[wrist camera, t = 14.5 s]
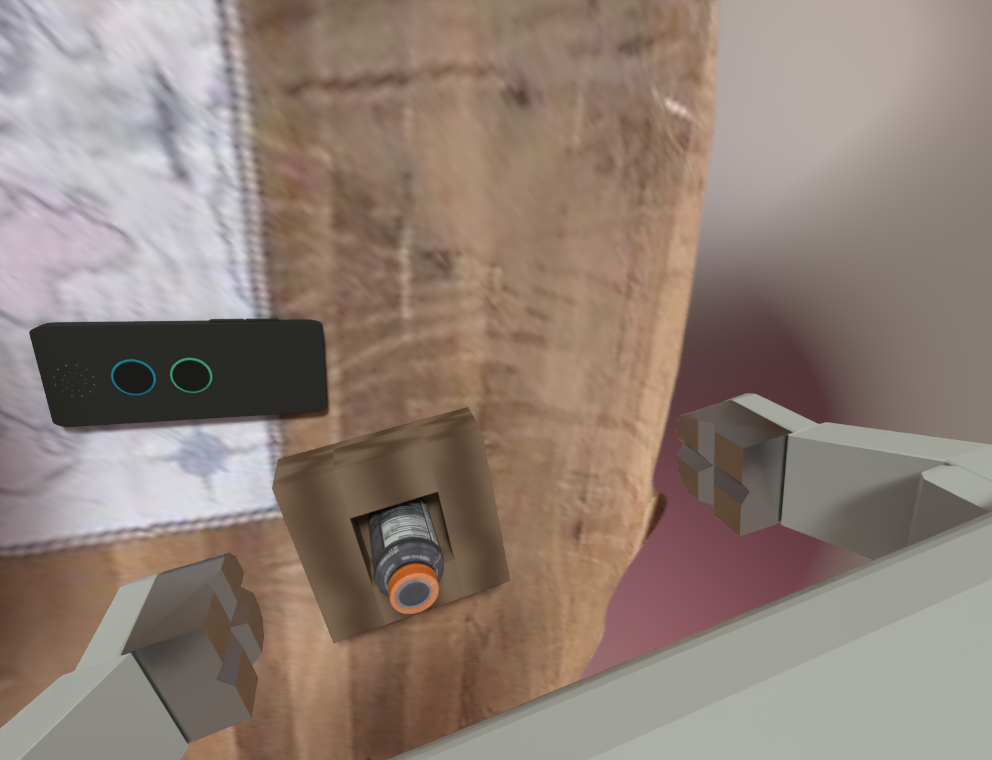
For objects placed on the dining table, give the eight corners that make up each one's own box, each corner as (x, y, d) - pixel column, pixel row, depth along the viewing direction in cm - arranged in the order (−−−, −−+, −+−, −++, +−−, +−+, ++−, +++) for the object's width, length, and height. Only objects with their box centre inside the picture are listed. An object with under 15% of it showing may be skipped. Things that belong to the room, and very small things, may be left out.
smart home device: (25, 325, 36) (321, 321, 42) (37, 319, 38) (322, 316, 44) (53, 430, 39) (327, 413, 45) (63, 420, 41) (327, 405, 46)
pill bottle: (405, 548, 52) (422, 635, 42) (355, 525, 50) (360, 612, 39) (439, 503, 52) (465, 580, 41) (391, 478, 49) (405, 554, 39)
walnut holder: (333, 604, 53) (333, 643, 49) (278, 459, 46) (272, 488, 42) (496, 549, 57) (510, 580, 52) (467, 407, 50) (481, 428, 45)
